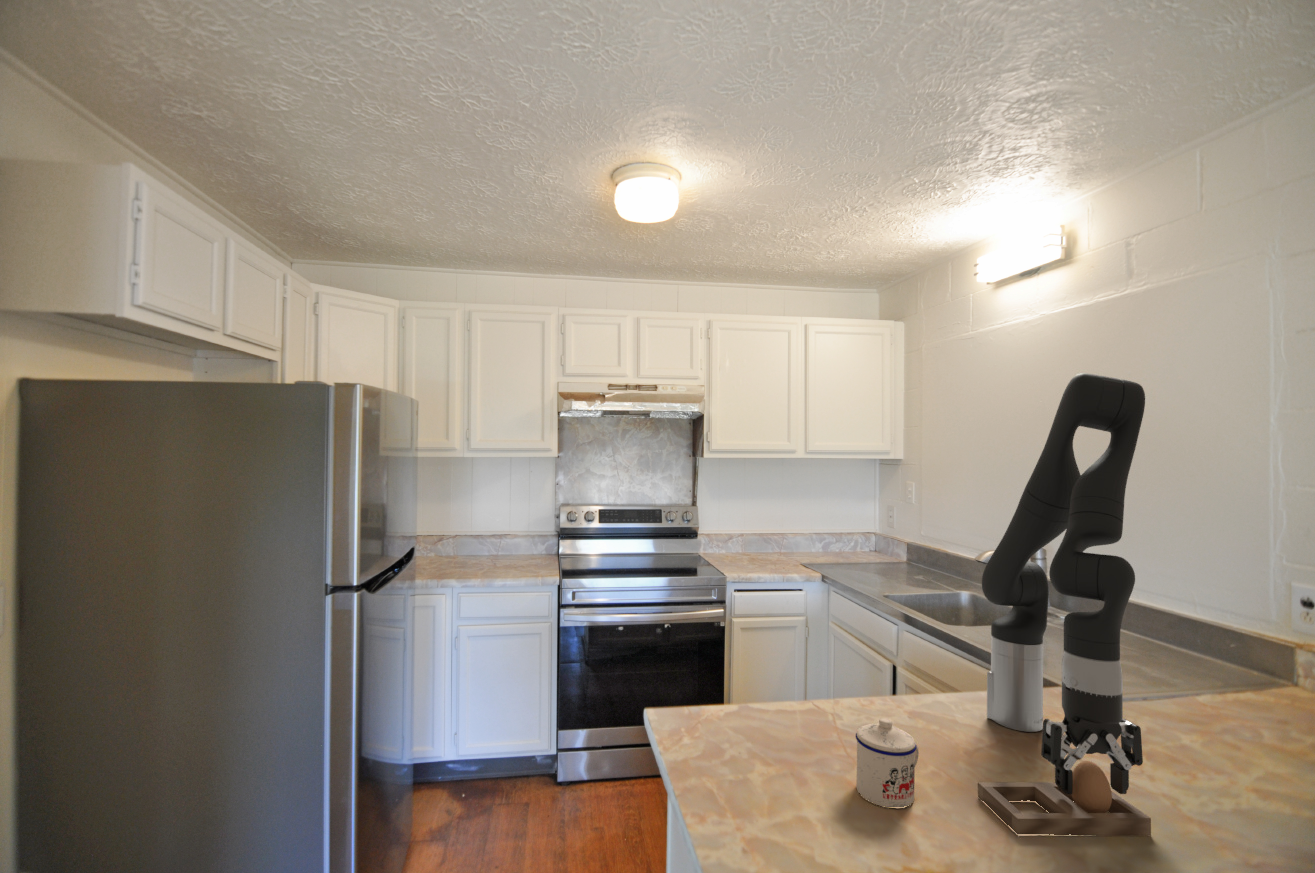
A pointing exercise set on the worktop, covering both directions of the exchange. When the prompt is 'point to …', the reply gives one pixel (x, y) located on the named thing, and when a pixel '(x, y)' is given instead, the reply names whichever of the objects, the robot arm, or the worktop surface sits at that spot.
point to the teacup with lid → (886, 764)
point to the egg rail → (1060, 811)
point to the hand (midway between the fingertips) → (1091, 791)
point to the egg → (1091, 788)
